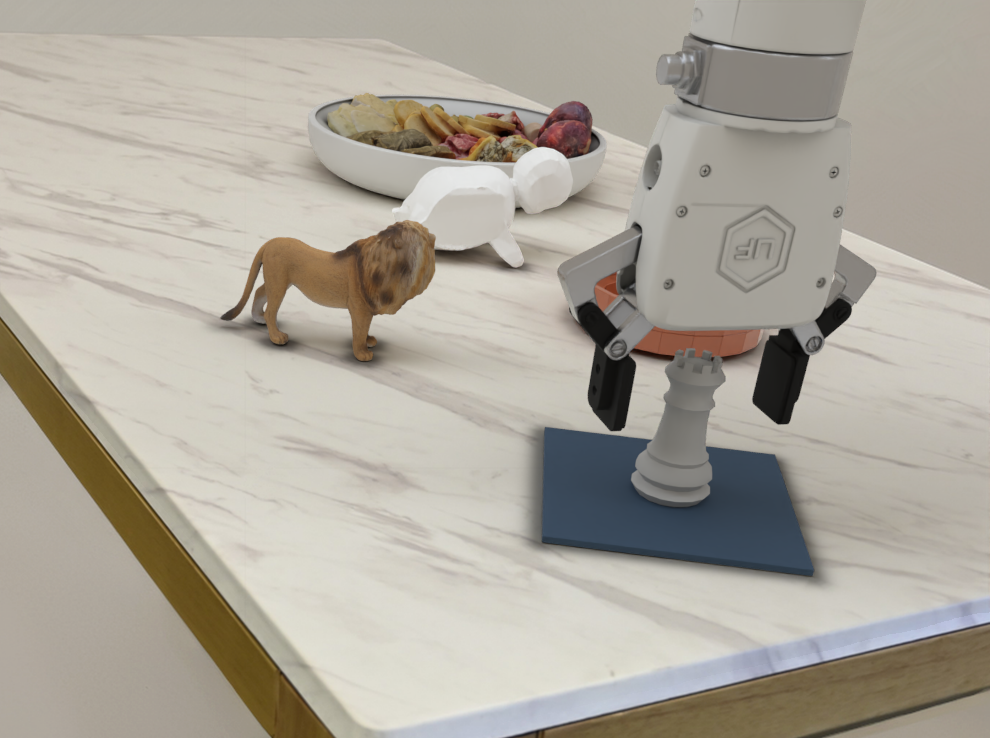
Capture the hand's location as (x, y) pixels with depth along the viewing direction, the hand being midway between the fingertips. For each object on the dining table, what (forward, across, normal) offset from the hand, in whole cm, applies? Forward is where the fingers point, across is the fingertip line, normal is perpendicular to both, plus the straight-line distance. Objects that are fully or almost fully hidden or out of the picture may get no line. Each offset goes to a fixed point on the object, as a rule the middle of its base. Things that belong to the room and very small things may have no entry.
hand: (689, 417), depth 69 cm
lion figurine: (+5, -15, +24) cm, 29 cm away
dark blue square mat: (+5, 0, 0) cm, 5 cm away
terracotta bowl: (+5, +11, +27) cm, 29 cm away
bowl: (+5, +7, +70) cm, 70 cm away
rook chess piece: (+5, 0, 0) cm, 5 cm away
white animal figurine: (+5, +2, +45) cm, 45 cm away
